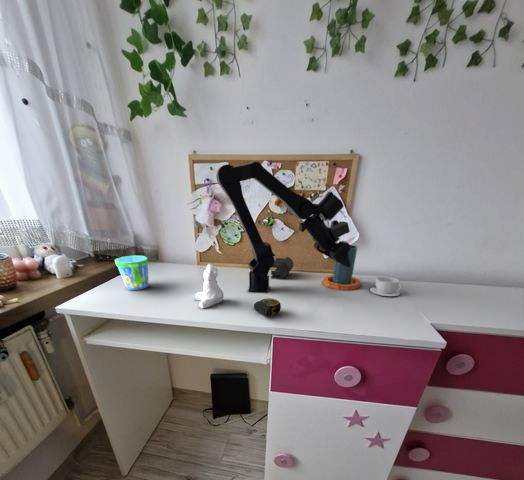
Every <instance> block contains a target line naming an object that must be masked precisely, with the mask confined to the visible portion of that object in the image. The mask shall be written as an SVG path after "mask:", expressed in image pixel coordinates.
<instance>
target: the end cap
mask: <svg viewBox="0 0 524 480" xmlns="http://www.w3.org/2000/svg"><path fill="white" fill-rule="evenodd" d="M274 260H275V262H274V265H273V266H272V267H271V268H273V269H274V270H271V269H270V276H271V277H270V278H271V279H276V280H282V279H284V278H286V276H287V275H288V274H289V273H290V272H291V271H292V270H293V269H294V261H293V259H292V258H291V257H288V256H286V257H284V258H282V257H277V258H274Z"/></svg>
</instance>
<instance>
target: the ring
mask: <svg viewBox="0 0 524 480" xmlns="http://www.w3.org/2000/svg"><path fill="white" fill-rule="evenodd" d="M332 281H333V274H331V275H326V276H324V277H323V279H322V284H323V285H324V286H325V287H327V288H331V289H334V290H340V291H352V290H357V289H358V288H360V287H361V284H362V282H361V280H360V278H357V277H354V276H352V281H351V284H337V283H332Z"/></svg>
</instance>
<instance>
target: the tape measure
mask: <svg viewBox="0 0 524 480" xmlns="http://www.w3.org/2000/svg"><path fill="white" fill-rule="evenodd" d="M253 309H254V311H255V312H257V313H259V314H261V315H263V316H265V318H270V317H274V316H277V315H279V314H280V312H281V309H282V304H281V302H280V300H277V299H276V298H262V299H260V300H258V301H256V302H255V303H253Z"/></svg>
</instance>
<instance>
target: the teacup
mask: <svg viewBox="0 0 524 480" xmlns="http://www.w3.org/2000/svg"><path fill="white" fill-rule="evenodd" d="M398 287H399V288H398ZM402 287H403V285H401V284H400V280H399V279H398V278H396V277H391V276H377V277H376V278H375V286H373V287H370V289H369V291H370V292H371V293H373V294H375V295H379V296H383V297H396V296H397V297H398V296H400V294H401V292H400V290H402ZM397 288H398V289H397Z"/></svg>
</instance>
